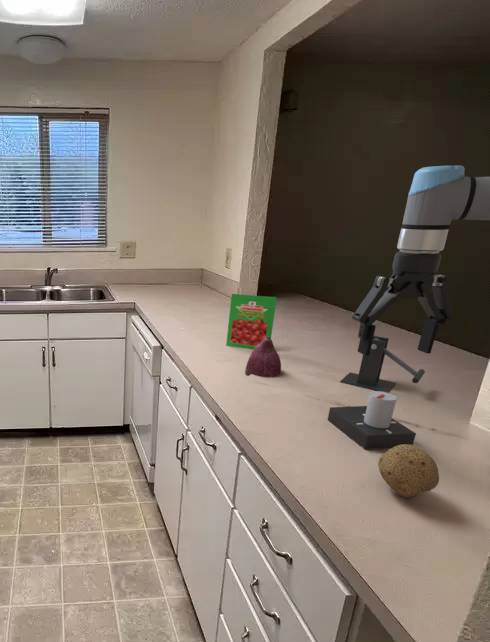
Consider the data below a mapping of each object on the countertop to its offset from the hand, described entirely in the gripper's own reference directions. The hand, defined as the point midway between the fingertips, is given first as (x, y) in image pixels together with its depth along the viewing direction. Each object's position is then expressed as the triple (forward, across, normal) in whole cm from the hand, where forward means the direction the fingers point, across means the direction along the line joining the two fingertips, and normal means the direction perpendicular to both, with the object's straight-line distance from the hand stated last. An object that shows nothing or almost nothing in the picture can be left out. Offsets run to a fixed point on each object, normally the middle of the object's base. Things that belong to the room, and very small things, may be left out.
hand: (393, 352), depth 93 cm
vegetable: (+21, +8, -40) cm, 46 cm away
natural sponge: (+21, +9, +20) cm, 30 cm away
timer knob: (+17, 0, 0) cm, 17 cm away
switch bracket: (+21, -18, -28) cm, 39 cm away
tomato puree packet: (+21, +2, -66) cm, 69 cm away
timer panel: (+21, 0, -2) cm, 21 cm away
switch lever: (+12, -21, -24) cm, 34 cm away
